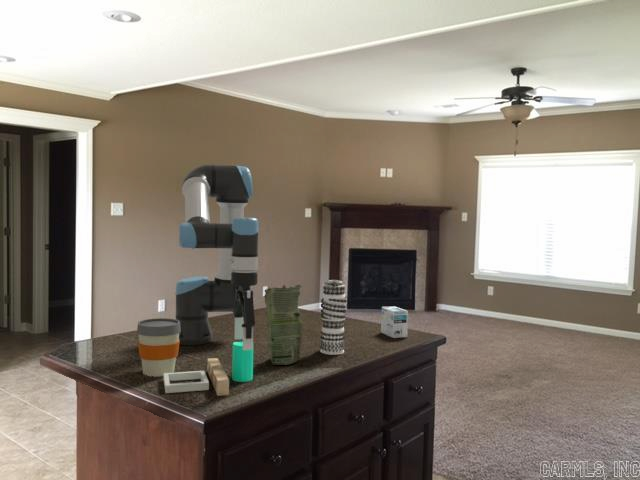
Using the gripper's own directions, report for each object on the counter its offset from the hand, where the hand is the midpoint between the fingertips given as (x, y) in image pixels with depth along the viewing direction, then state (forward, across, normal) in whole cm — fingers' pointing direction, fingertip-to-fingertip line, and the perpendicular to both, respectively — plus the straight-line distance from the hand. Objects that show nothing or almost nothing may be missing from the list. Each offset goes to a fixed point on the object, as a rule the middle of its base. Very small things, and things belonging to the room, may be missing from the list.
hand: (243, 344), depth 161 cm
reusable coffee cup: (+10, -12, -23) cm, 28 cm away
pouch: (+10, -16, +16) cm, 24 cm away
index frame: (+10, +2, -16) cm, 19 cm away
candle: (+10, 0, 0) cm, 10 cm away
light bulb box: (+10, -42, +69) cm, 82 cm away
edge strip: (+10, +2, -8) cm, 13 cm away
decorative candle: (+10, -24, +36) cm, 44 cm away
